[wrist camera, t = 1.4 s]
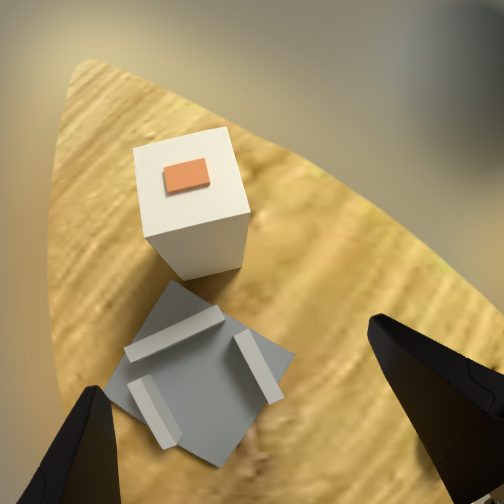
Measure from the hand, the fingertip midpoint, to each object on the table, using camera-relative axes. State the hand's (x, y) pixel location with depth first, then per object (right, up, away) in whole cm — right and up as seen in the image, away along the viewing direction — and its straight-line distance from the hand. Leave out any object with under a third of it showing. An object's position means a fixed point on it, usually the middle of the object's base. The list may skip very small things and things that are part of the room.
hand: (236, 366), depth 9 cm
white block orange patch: (-3, +4, +15) cm, 15 cm away
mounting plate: (-3, -5, +12) cm, 14 cm away
